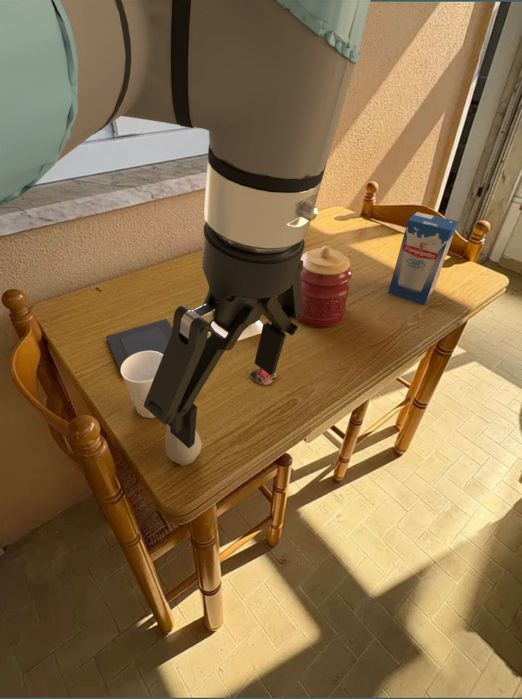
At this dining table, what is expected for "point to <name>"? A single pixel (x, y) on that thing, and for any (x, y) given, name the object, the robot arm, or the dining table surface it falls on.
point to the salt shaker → (181, 449)
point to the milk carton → (421, 256)
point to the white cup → (140, 377)
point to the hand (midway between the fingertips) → (227, 399)
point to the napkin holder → (248, 332)
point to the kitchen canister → (324, 286)
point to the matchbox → (262, 376)
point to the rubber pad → (140, 340)
